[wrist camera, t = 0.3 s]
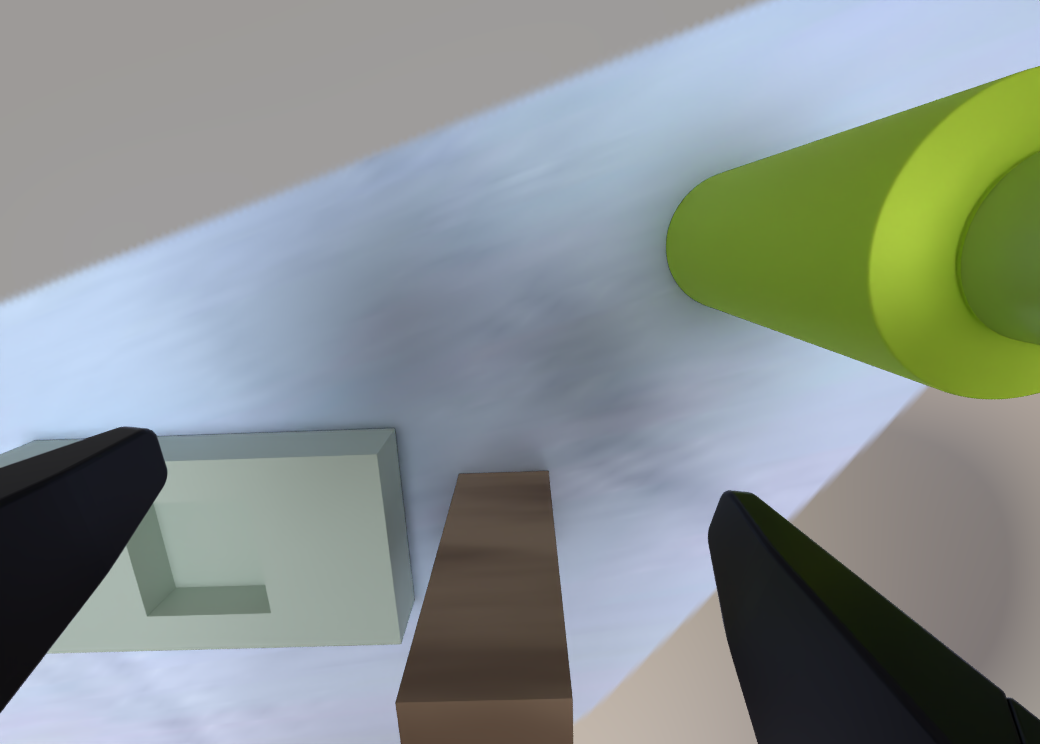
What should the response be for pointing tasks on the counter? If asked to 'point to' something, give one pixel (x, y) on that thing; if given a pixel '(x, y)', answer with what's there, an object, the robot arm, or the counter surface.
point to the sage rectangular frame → (257, 547)
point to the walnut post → (491, 623)
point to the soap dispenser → (889, 241)
